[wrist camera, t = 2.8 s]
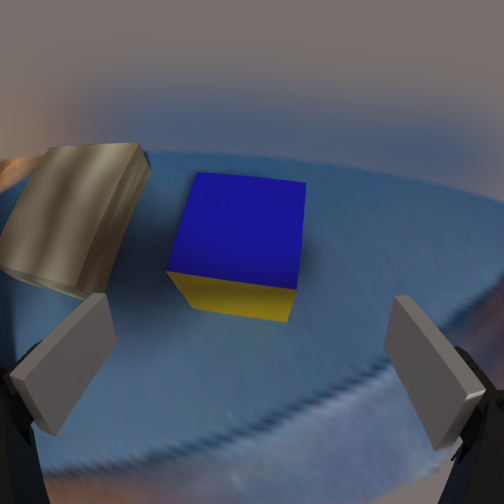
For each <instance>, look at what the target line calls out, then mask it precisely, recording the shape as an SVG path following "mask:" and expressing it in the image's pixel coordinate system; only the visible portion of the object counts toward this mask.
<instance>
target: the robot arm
mask: <svg viewBox="0 0 504 504" xmlns="http://www.w3.org/2000/svg"><path fill="white" fill-rule="evenodd" d="M117 343H118V341H117V337H116V334H115V330H114V326H113V322H112V317H111V313H110V309H109V304H108V300H107V295H106V294H104V293H92V294H91V295H90V296H89V297H88V298H87V299H86V300H85V301H84V302H83V303H81V304H80V305H79V306H78V307H77V308H76V309H75V310H74V311H73V312H72V313H71V314H70V315H69V316H67V317H66V318H65V319H64V320H63V321H62V322H61V323H60V324H59V325H58V326H57V327H56V328H55V329H54V330H53V331H52V332H51V333H50V334H49V335H48V336H47V337H46V338H45V339H44V340H42V341H40V342H38V343H37V344H35V345H33V346H32V347H31V348H30V349H29V350H28V351H27V354H24V355H23V356H22V357H21V359H19V361H18V362H17V363H16V364H15V365H14V366H13V367H12V368H11V369H10V370H9V371H8V372H7V373H6V374H5V375H4V376H3V377H2V375H1V373H0V504H50V501H49V498H48V495H47V491H46V488H45V484H44V480H43V476H42V472H41V467H40V463H39V458H38V453H37V448H36V442H35V437H34V431H33V429H32V427H31V426H30V425H31V423H32V422H33V421H35V423H36V424H37V426H38V427H39V429H40V430H41V431H43V432H46V433H48V434H51V435H53V436H56V434H57V432H58V431H59V429H60V428H61V426H62V425H63V423H64V421H65V420H66V418H67V417H68V415H69V414H70V412H71V411H72V409H73V407H74V406H75V404H76V403H77V401H78V400H79V398H80V397H81V395H82V394H83V392H84V391H85V389H86V388H87V386H88V385H89V383H90V382H91V380H92V379H93V377H94V376H95V375H96V373H97V372H98V370H99V369H100V367H101V366H102V364H103V363H104V362H105V360H106V359H107V357H108V356H109V354H110V353H111V352H112V350H113V349H114V347H115V346H116V344H117ZM383 347H384V349H385V351H386V353H387V355H388V357H389V358H390V360H391V362H392V364H393V366H394V368H395V370H396V372H397V374H398V376H399V378H400V380H401V382H402V383H403V385H404V387H405V389H406V391H407V393H408V395H409V397H410V399H411V402H412V404H413V406H414V408H415V410H416V412H417V414H418V416H419V418H420V420H421V422H422V424H423V427H424V429H425V431H426V433H427V435H428V437H429V440H430V442H431V444H432V446H433V449H434V451H438V450H441V449H445V448H448V447H451V446H453V444H454V443H455V441H456V440H457V438H458V437H459V435H460V437H461V439H462V441H463V443H462V444H461V446H460V447H459V449H458V450H457V451H456V453H455V454H454V456H453V457H452V459H451V461H453V460H454V459H455V458H456V459H455V462H454V465H453V468H452V470H451V473H450V475H449V478H448V480H447V483H446V485H445V488H444V490H443V492H442V495H441V497H440V499H439V502H438V504H504V390H497V389H496V388H495V386H494V385H493V384H492V382H491V381H490V380H489V379H488V377H487V376H486V375H485V374H484V372H483V371H482V370H481V369H479V366H478V365H477V364H476V362H474V360H473V359H472V357H471V356H470V355H469V354H468V353H467V352H466V351H464V350H463V349H461V348H460V347H458V346H456V347H453V346H452V345H451V344H450V343H449V341H448V340H447V339H446V338H445V337H444V335H443V334H442V333H441V332H440V331H439V329H438V328H437V327H436V326H435V325H434V324H433V322H432V321H431V320H430V319H429V318H428V317H427V315H426V314H425V313H424V312H423V311H422V310H421V309H420V308H419V306H418V305H417V304H416V303H415V302H414V301H413V300H412V299H411V297H410V296H409V295H404V296H394V299H393V304H392V309H391V314H390V319H389V324H388V328H387V333H386V337H385V341H384V346H383Z"/></svg>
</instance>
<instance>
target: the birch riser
mask: <svg viewBox="0 0 504 504" xmlns="http://www.w3.org/2000/svg"><path fill="white" fill-rule="evenodd" d="M150 173H151V170H150V167H149V165H148V163H147V160H146V158H145V156H144V153H143V151H142V149H141V146H140V144H139V143H118V144H95V145H79V146H66V147H54V148H49V149H48V151H47V152H46V154H45V155H44V157H43V158H42V160H41V161H40V163H39V165H38V166H37V168H36V169H35V171H34V173H33V174H32V176H31V178H30V179H29V181H28V183H27V185H26V186H25V188H24V190H23V192H22V194H21V195H20V197H19V199H18V201H17V203H16V205H15V207H14V209H13V211H12V213H11V215H10V217H9V219H8V221H7V223H6V225H5V227H4V229H3V231H2V233H1V236H0V270H2V271H3V272H5V273H6V274H8V275H9V276H11V277H12V278H14V279H16V280H19V281H22V282H25V283H28V284H31V285H35V286H38V287H41V288H44V289H47V290H51V291H54V292H57V293H61V294H64V295H67V296H71V297H75V298H78V299H82V300H86V299H87V298H88V297H89V296H90V295H91V294H92V293H105V290H106V287H107V284H108V281H109V278H110V274H111V272H112V269H113V266H114V263H115V260H116V257H117V254H118V251H119V249H120V246H121V243H122V241H123V238H124V235H125V233H126V230H127V228H128V225H129V222H130V220H131V217H132V215H133V212H134V210H135V208H136V205H137V203H138V200H139V198H140V196H141V193H142V191H143V189H144V187H145V184H146V182H147V180H148V178H149V175H150Z"/></svg>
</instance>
